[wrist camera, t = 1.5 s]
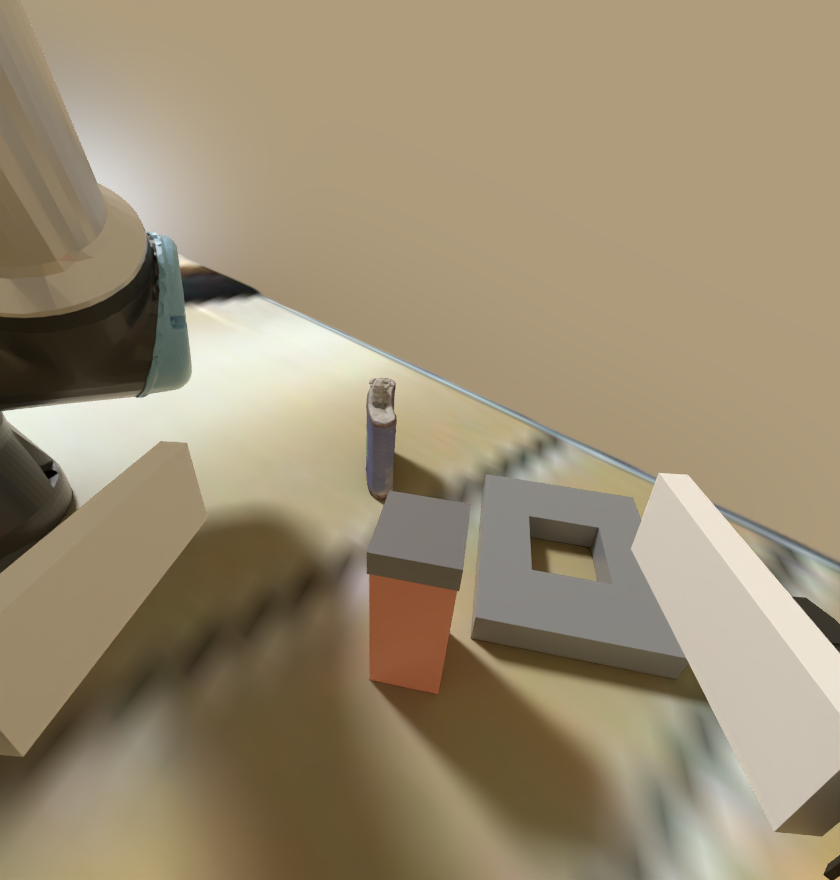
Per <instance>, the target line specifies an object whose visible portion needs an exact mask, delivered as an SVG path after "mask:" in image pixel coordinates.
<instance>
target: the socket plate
mask: <svg viewBox="0 0 840 880" xmlns="http://www.w3.org/2000/svg"><path fill="white" fill-rule="evenodd" d="M640 523H641V518H640V516H639V513H638V510H637V507H636V505H635V502H634V499H633V498H632V497H626V496H620V495H613V494H607V493H601V492H594V491H588V490H582V489H576V488H569V487H563V486H557V485H550V484H544V483H538V482H531V481H525V480H519V479H512V478H506V477H500V476H494V475H487V474H486V478H485V483H484V488H483V493H482V505H481V518H480V530H479V543H478V555H477V567H476V580H475V592H474V604H473V617H472V629H471V638H473V639H478V640H483V641H488V642H493V643H498V644H503V645H508V646H513V647H518V648H523V649H528V650H533V651H538V652H543V653H548V654H553V655H558V656H563V657H568V658H573V659H578V660H583V661H588V662H593V663H598V664H602V665H607V666H612V667H617V668H622V669H627V670H632V671H637V672H642V673H647V674H652V675H657V676H662V677H667V678H672V679H677V678H678V677H679V676H680V674H681V673H682V672H683V670H684V669H685V668H686V667H687V665H688V664H689V663H688V661H687V659H686V657H685V655H684V653H683V651H682V649H681V647H680V645H679V643H678V641H677V639H676V637H675V635H674V633H673V631H672V629H671V627H670V625H669V623H668V621H667V619H666V617H665V615H664V613H663V611H662V609H661V607H660V605H659V603H658V601H657V599H656V597H655V596H654V594H653V592H652V590H651V588H650V586H649V584H648V582H647V580H646V578H645V576H644V574H643V572H642V570H641V568H640V566H639V564H638V562H637V560H636V558H635V556H634V554H633V552H632V550H631V547H632V544H633V542H634V539H635V536H636V534H637V531H638V528H639V526H640ZM530 537H533V538H539V539H545V540H550V541H556V542H562V543H568V544H574V545H579V546H585V547H591V552H592V557H593V562H594V566H595V571H596V576H597V581H598V582H597V581H592V580H586V579H581V578H575V577H569V576H564V575H558V574H553V573H547V572H542V571H536V570H532V563H531V544H530Z"/></svg>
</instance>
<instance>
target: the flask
mask: <svg viewBox="0 0 840 880" xmlns="http://www.w3.org/2000/svg"><path fill="white" fill-rule="evenodd" d="M369 384H372V385H370V390H369V392H368V396H367V405H366V408H367V440H366V441H367V447H366V450H367V456H366V462H367V464H366V472H367V485H368V489H369V492H370V493H371V496H373V497H374V498H377V499H382V498H387V495H388V493H389V490H390V491H393V472H394V448H395V433H396V421H397V420H396V415H395V413H394V393H395V382H394V381H393V380H391V379H388V378H377V379H375V378H372V379H371V380H370V381H369ZM377 495H378V496H379V497H381V498H379V497H378V496H377Z"/></svg>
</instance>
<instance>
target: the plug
mask: <svg viewBox="0 0 840 880" xmlns="http://www.w3.org/2000/svg"><path fill="white" fill-rule="evenodd" d="M469 513H470V504H468V503H462V502H456V501H450V500H444V499H438V498H432V497H426V496H420V495H414V494H408V493H402V492H396V491H390V490H389V493H388V495H387V498H386V501H385V504H384V506H383V509H382V512H381V515H380V517H379V520H378V523H377V526H376V528H375V531H374V534H373V537H372V539H371V542H370V545H369V548H368V550H367V574H369V616H370V680H374V681H378V682H383V683H387V684H392V685H397V686H401V687H406V688H410V689H415V690H420V691H424V692H429V693H433V694H439V688H440V682H441V677H442V671H443V666H444V660H445V655H446V649H447V644H448V638H449V632H450V627H451V621H452V616H453V610H454V605H455V599H456V594H457V591H459V589H460V584H461V578H462V573H463V566H464V557H465V548H466V539H467V530H468V522H469Z"/></svg>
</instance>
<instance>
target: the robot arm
mask: <svg viewBox="0 0 840 880" xmlns="http://www.w3.org/2000/svg"><path fill="white" fill-rule="evenodd" d="M191 372H192V370H191V356H190V347H189V338H188V331H187V324H186V314H185V305H184V296H183V288H182V281H181V273H180V266H179V259H178V253H177V247H176V245H175V243H174V241H173V240H172V239H171V238H169V237H167V236H163V235H158V234H157V233H154V232H152V233H150V232H147V233H146V232H145V229H144V227H143V224H142V222H141V220H140V219H139V217H138V215H137V213H136V212H135V211H134V209H133V208H132V207H131V206H130V205H129V204H128V203H127V202H126V201H125V200H124V199H123V198H121V197H120V196H118V195H117V194H116V193H114V192H113V191H111V190H110V189H108V188H106V187H104V186H102V185H101V184H98V183H97V181H96V179H95V176H94V174H93V172H92V169H91V167H90V165H89V162H88V160H87V157H86V155H85V153H84V150H83V148H82V146H81V143H80V141H79V138H78V136H77V133H76V131H75V129H74V126H73V124H72V121H71V119H70V117H69V114H68V112H67V109H66V107H65V105H64V102H63V100H62V97H61V95H60V93H59V90H58V88H57V85H56V83H55V81H54V78H53V76H52V73H51V71H50V69H49V66H48V64H47V62H46V59H45V57H44V54H43V52H42V49H41V47H40V45H39V42H38V40H37V38H36V35H35V33H34V31H33V28H32V26H31V23H30V21H29V18H28V16H27V14H26V11H25V9H24V6H23V4H22V2H21V0H0V755H7V756H17V757H24V755H25V754H26V753H27V751H28V750H29V749H30V748H31V746H32V745H33V744H34V742H35V741H36V740H37V739H38V737H39V736H40V735H41V733H42V732H43V731H44V730H45V728H46V727H47V726H48V724H49V723H50V722H51V720H52V719H53V718H54V717H55V715H56V714H57V713H58V711H59V710H60V709H61V708H62V706H63V705H64V704H65V702H66V701H67V700H68V698H69V697H70V696H71V695H72V693H73V692H74V691H75V689H76V688H77V687H78V686H79V684H80V683H81V682H82V680H83V679H84V678H85V676H86V675H87V674H88V673H89V671H90V670H91V669H92V667H93V666H94V665H95V664H96V662H97V661H98V660H99V658H100V657H101V656H102V654H103V653H104V652H105V651H106V649H107V648H108V647H109V645H110V644H111V643H112V642H113V640H114V639H115V638H116V636H117V635H118V634H119V633H120V631H121V630H122V629H123V627H124V626H125V625H126V623H127V622H128V621H129V620H130V618H131V617H132V616H133V614H134V613H135V612H136V611H137V609H138V608H139V607H140V605H141V604H142V603H143V601H144V600H145V599H146V598H147V596H148V595H149V594H150V592H151V591H152V590H153V589H154V587H155V586H156V585H157V583H158V582H159V581H160V579H161V578H162V577H163V576H164V574H165V573H166V572H167V570H168V569H169V568H170V567H171V565H172V564H173V563H174V561H175V560H176V559H177V557H178V556H179V555H180V554H181V552H182V551H183V550H184V548H185V547H186V546H187V545H188V543H189V542H190V541H191V539H192V538H193V537H194V536H195V534H196V533H197V532H198V530H199V529H200V528H201V526H202V525H203V524H204V523H205V521H206V520H207V519H208V518H207V515H206V511H205V507H204V504H203V500H202V496H201V493H200V489H199V485H198V482H197V478H196V474H195V471H194V467H193V463H192V460H191V456H190V453H189V449H188V445H187V443H179V442H163V441H161V442H159V443H158V444H157V445H156V446H154V447H153V448H152V449H151V450H150V451H148V452H147V453H146V454H145V455H144V456H142V457H141V458H140V459H139V460H137V461H136V462H135V463H134V464H133V465H131V466H130V467H129V468H128V469H127V470H125V471H124V472H123V473H122V474H120V475H119V476H118V477H117V478H116V479H114V480H113V481H112V482H111V483H110V484H108V485H107V486H106V487H105V488H103V489H102V490H101V491H100V492H99V493H97V494H96V495H95V496H94V497H93V498H91V499H90V500H89V501H88V502H86V503H85V504H84V505H83V506H82V507H80V508H79V509H78V510H77V511H76V512H74V513H73V514H72V515H71V516H69V517H68V518H67V519H66V520H65V521H63V522H62V523H61V524H60V525H59V526H57V527H56V528H55V529H54V530H52V529H53V528H54V527H55V526H56V525H57V523H58V522H59V521H60V520H61V519H62V517H63V516H64V515H65V513H66V511H67V510H68V508H69V505H70V503H71V499H72V490H71V486H70V484H69V482H68V480H67V478H66V476H65V474H64V473H63V471H62V469H61V467H60V466H59V465H58V464H57V463H56V462H55V461H54V460H53V459H52V458H51V457H50V456H48V455H47V454H46V453H45V452H44V451H42V450H41V449H40V448H39V447H38V446H36V445H35V444H34V443H33V442H32V441H30V440H29V439H28V438H27V437H26V436H24V435H23V434H22V433H21V432H20V431H18V430H17V429H16V428H15V427H14V426H12V425H11V424H10V423H9V422H8V421H7V420H6V418H5V417H4V415H3V413H2V412H1V411H6V410H14V409H23V408H32V407H40V406H49V405H58V404H67V403H77V402H87V401H97V400H107V399H116V398H126V397H137V398H138V397H145V396H147V395H148V394H152V393H158V392H164V391H170V390H175V389H179V388H181V387H183V386H184V385H185V384H186V383H187V382H188V381H189V379H190V377H191ZM51 530H52V531H51ZM50 531H51V532H50ZM48 532H50V533H49V534H48V535H46V534H47V533H48ZM45 535H46V536H45ZM44 536H45V537H44ZM43 537H44V538H43ZM42 538H43V539H42ZM40 539H41V540H40ZM39 540H40V541H39ZM631 550H632V552H633V554H634V556H635V558H636V560H637V562H638V564H639V566H640V568H641V570H642V572H643V574H644V576H645V578H646V580H647V582H648V584H649V586H650V588H651V590H652V592H653V594H654V596H655V597H656V599H657V601H658V603H659V605H660V607H661V609H662V611H663V613H664V615H665V617H666V619H667V621H668V623H669V625H670V627H671V629H672V631H673V633H674V635H675V637H676V639H677V641H678V643H679V645H680V647H681V649H682V651H683V653H684V655H685V657H686V659H687V661H688V663H689V665H690V667H691V669H692V670H693V672H694V674H695V676H696V678H697V680H698V682H699V684H700V686H701V688H702V690H703V692H704V694H705V696H706V698H707V700H708V702H709V704H710V706H711V708H712V710H713V712H714V714H715V716H716V718H717V720H718V722H719V724H720V726H721V728H722V730H723V732H724V734H725V736H726V738H727V740H728V742H729V743H730V745H731V747H732V749H733V751H734V753H735V755H736V757H737V759H738V761H739V763H740V765H741V767H742V769H743V771H744V773H745V775H746V777H747V779H748V781H749V783H750V785H751V787H752V789H753V791H754V793H755V795H756V797H757V799H758V801H759V803H760V805H761V807H762V809H763V811H764V813H765V815H766V816H767V818H768V820H769V822H770V824H771V826H772V828H773V830H774V832H782V833H792V834H802V835H812V836H823V835H824V834H825V833H827V832H828V831H829V830H830V829H831V828H833V827H834V826H835V825H836V824H837V823H839V822H840V624H839V623H838V622H837V621H836V620H835V619H834V618H832V617H831V616H830V615H828V614H827V613H826V612H824V611H823V610H822V609H820V608H819V607H818V606H816V605H815V604H814V603H812V602H811V601H810V600H808V599H807V598H803V597H791V595H790V594H789V593H788V592H787V591H786V590H785V588H784V587H783V586H782V585H781V584H780V582H779V581H778V580H777V579H776V578H775V577H774V575H773V574H772V573H771V572H770V571H769V570H768V568H767V567H766V566H765V565H764V564H763V562H762V561H761V560H760V559H759V558H758V557H757V555H756V554H755V553H754V552H753V551H752V550H751V548H750V547H749V546H748V545H747V544H746V543H745V541H744V540H743V539H742V538H741V537H740V535H739V534H738V533H737V532H736V531H735V530H734V528H733V527H732V526H731V525H730V524H729V523H728V521H727V520H726V519H725V518H724V517H723V515H722V514H721V513H720V512H719V511H718V510H717V508H716V507H715V506H714V505H713V504H712V503H711V501H710V500H709V499H708V498H707V497H706V496H705V494H704V493H703V492H702V491H701V490H700V488H699V487H698V486H697V485H696V484H695V483H694V481H693V480H692V479H691V478H690V477H689V476H688V475H682V474H666V473H659V474H658V477H657V480H656V482H655V485H654V488H653V490H652V493H651V496H650V498H649V501H648V504H647V507H646V509H645V512H644V515H643V517H642V520H641V523H640V526H639V528H638V531H637V534H636V536H635V539H634V542H633V544H632V547H631ZM823 875H824V876H826V877H827V878H828V879H830V880H835V879H836V878H837V877H839V876H840V855H839V856H838V857H837V858H835V859H834V860H833V861H831V862H830V863H829V864H828V865H827V868H826V870H825V872H824V874H823Z"/></svg>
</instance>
